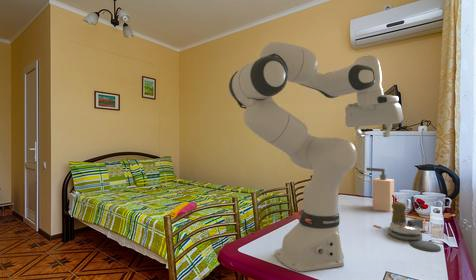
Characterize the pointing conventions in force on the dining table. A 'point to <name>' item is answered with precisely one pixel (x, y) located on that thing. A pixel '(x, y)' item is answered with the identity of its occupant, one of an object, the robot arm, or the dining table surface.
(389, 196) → the soap dispenser
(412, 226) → the saucepan
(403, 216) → the cork
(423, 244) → the coaster
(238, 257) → the dining table surface
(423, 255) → the dining table surface
